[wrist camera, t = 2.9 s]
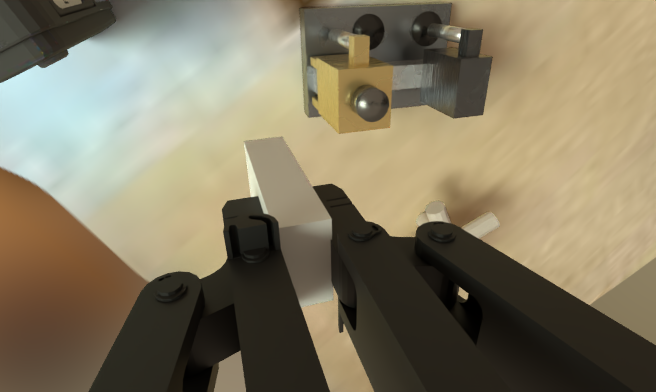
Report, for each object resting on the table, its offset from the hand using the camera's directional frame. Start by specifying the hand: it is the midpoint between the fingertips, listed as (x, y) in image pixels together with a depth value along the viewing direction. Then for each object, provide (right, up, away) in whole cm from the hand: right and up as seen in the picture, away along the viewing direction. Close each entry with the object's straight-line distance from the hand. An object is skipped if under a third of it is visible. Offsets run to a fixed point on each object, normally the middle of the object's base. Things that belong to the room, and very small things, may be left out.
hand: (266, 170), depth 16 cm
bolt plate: (+6, +11, +17) cm, 21 cm away
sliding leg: (+3, +9, +15) cm, 17 cm away
